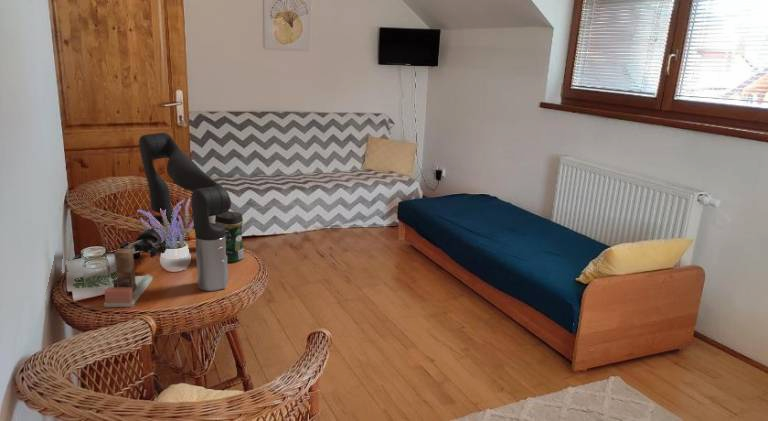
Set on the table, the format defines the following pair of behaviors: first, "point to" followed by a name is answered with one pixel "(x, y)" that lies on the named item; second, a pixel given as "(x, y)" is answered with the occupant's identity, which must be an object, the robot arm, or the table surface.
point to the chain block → (124, 269)
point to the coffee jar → (232, 234)
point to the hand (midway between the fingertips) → (137, 254)
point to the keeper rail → (137, 280)
